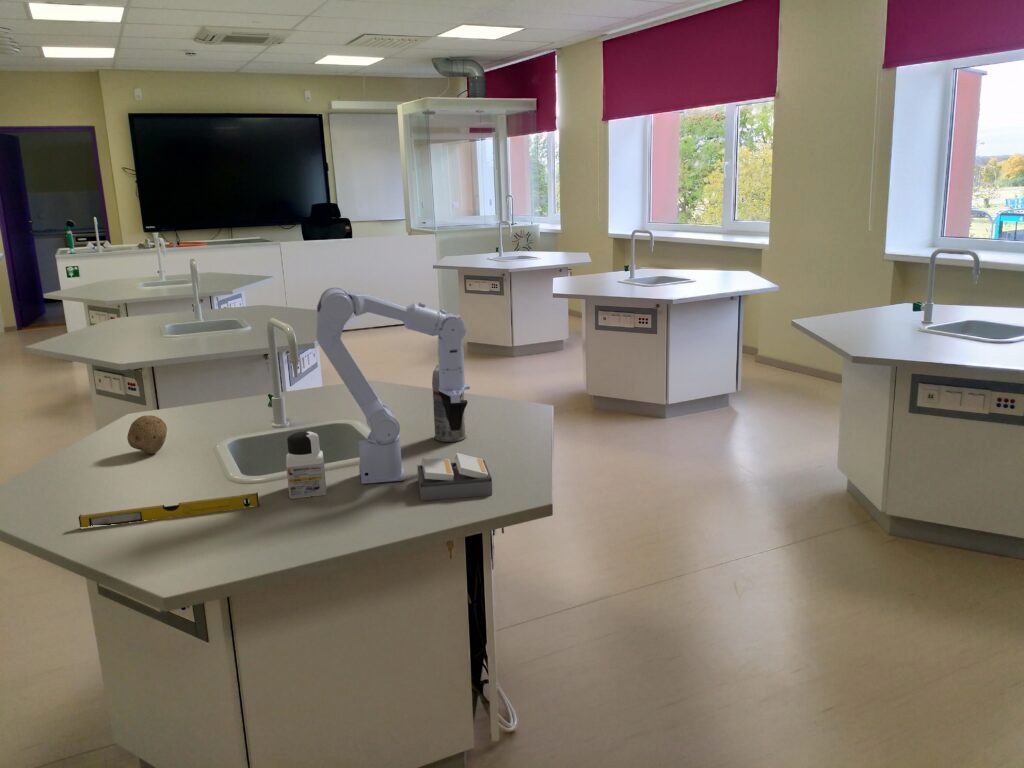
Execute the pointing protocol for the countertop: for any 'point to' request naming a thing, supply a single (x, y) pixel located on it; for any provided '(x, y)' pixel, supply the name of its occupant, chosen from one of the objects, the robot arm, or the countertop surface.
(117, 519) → the spirit level
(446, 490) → the grey divided tray
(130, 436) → the brown potato
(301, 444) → the container
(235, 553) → the countertop surface
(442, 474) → the panel
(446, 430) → the spray can
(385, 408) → the robot arm
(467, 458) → the rocker right
